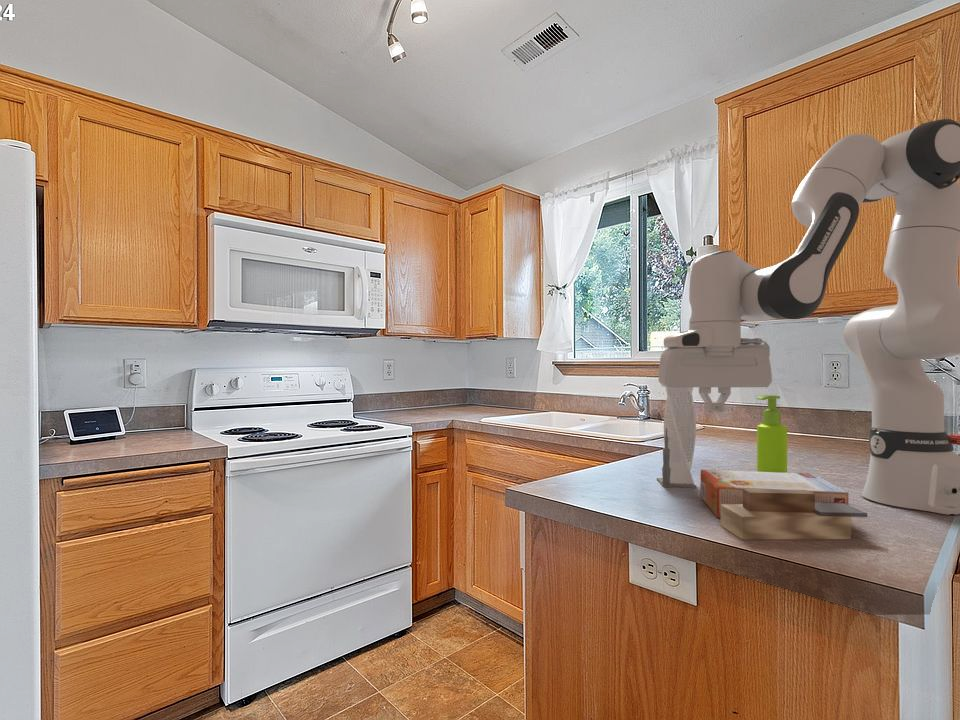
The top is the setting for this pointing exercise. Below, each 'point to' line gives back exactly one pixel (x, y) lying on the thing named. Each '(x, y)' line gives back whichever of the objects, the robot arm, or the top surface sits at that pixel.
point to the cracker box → (762, 486)
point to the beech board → (783, 524)
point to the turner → (794, 503)
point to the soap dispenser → (771, 439)
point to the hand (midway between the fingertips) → (714, 411)
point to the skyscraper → (678, 438)
